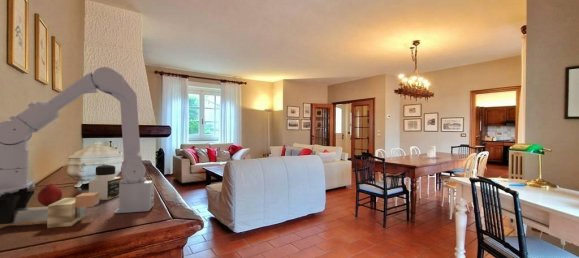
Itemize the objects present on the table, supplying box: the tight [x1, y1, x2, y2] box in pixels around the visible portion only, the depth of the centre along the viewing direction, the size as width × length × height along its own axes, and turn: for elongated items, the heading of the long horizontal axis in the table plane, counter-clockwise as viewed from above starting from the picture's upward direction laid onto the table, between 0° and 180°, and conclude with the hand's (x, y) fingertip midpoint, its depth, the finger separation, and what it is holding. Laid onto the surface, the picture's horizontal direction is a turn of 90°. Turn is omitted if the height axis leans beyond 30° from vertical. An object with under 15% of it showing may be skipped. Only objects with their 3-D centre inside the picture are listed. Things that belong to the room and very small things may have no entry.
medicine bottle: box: [88, 164, 122, 201], centre depth 96 cm, size 7×7×12 cm
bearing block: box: [46, 197, 86, 229], centre depth 70 cm, size 5×8×6 cm, turn 17°
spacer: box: [74, 192, 100, 208], centre depth 71 cm, size 4×4×3 cm
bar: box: [9, 206, 87, 225], centre depth 69 cm, size 15×3×3 cm, turn 107°
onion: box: [37, 181, 63, 207], centre depth 83 cm, size 6×6×8 cm
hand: (11, 221), depth 66 cm, fingers closed on bar, 3 cm apart
